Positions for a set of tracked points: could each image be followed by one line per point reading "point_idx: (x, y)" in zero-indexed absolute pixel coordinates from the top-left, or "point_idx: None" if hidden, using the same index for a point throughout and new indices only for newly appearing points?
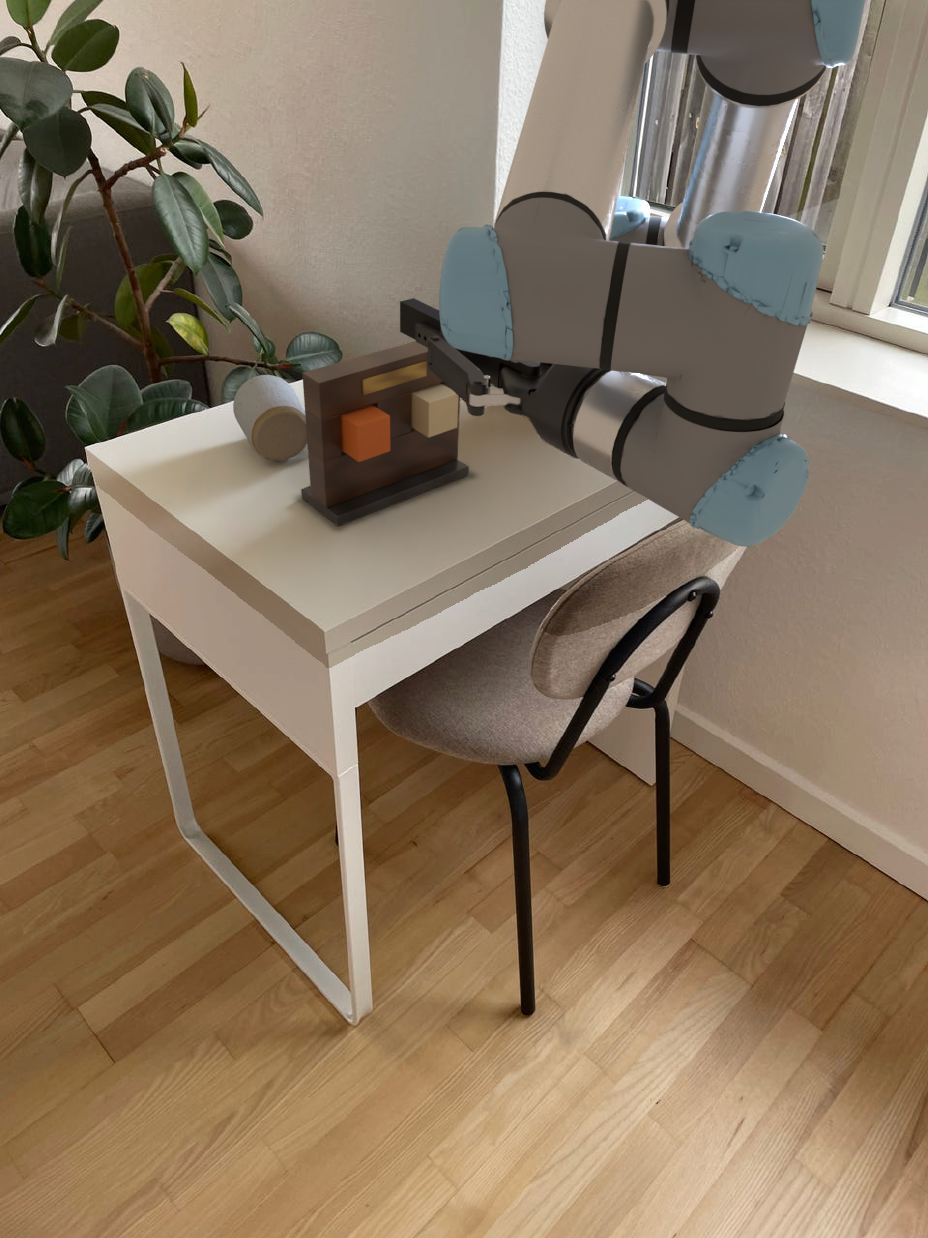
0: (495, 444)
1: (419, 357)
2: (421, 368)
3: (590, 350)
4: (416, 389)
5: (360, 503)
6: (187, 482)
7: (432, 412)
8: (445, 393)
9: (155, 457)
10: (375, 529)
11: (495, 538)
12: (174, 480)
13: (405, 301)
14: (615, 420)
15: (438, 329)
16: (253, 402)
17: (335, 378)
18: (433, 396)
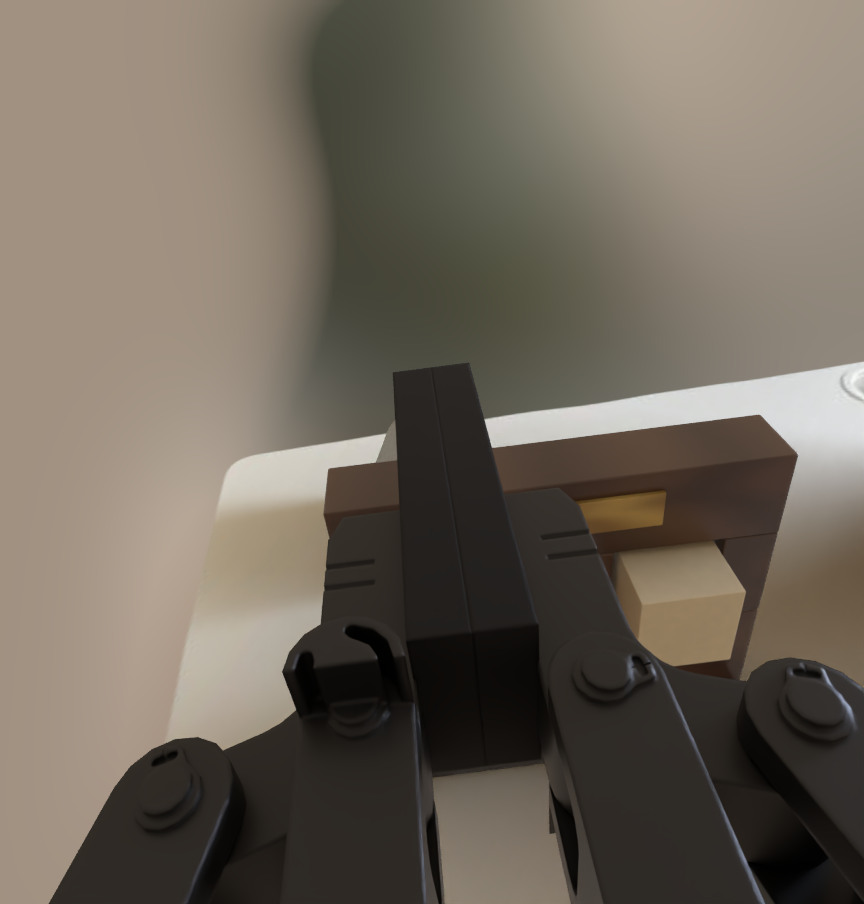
0: (860, 653)
1: (645, 481)
2: (647, 508)
3: None
4: (629, 549)
5: None
6: (264, 557)
7: (651, 625)
8: (707, 581)
9: (273, 494)
10: (446, 837)
11: None
12: (253, 546)
13: (413, 376)
14: None
15: (398, 615)
16: (384, 456)
17: (374, 507)
18: (667, 583)
